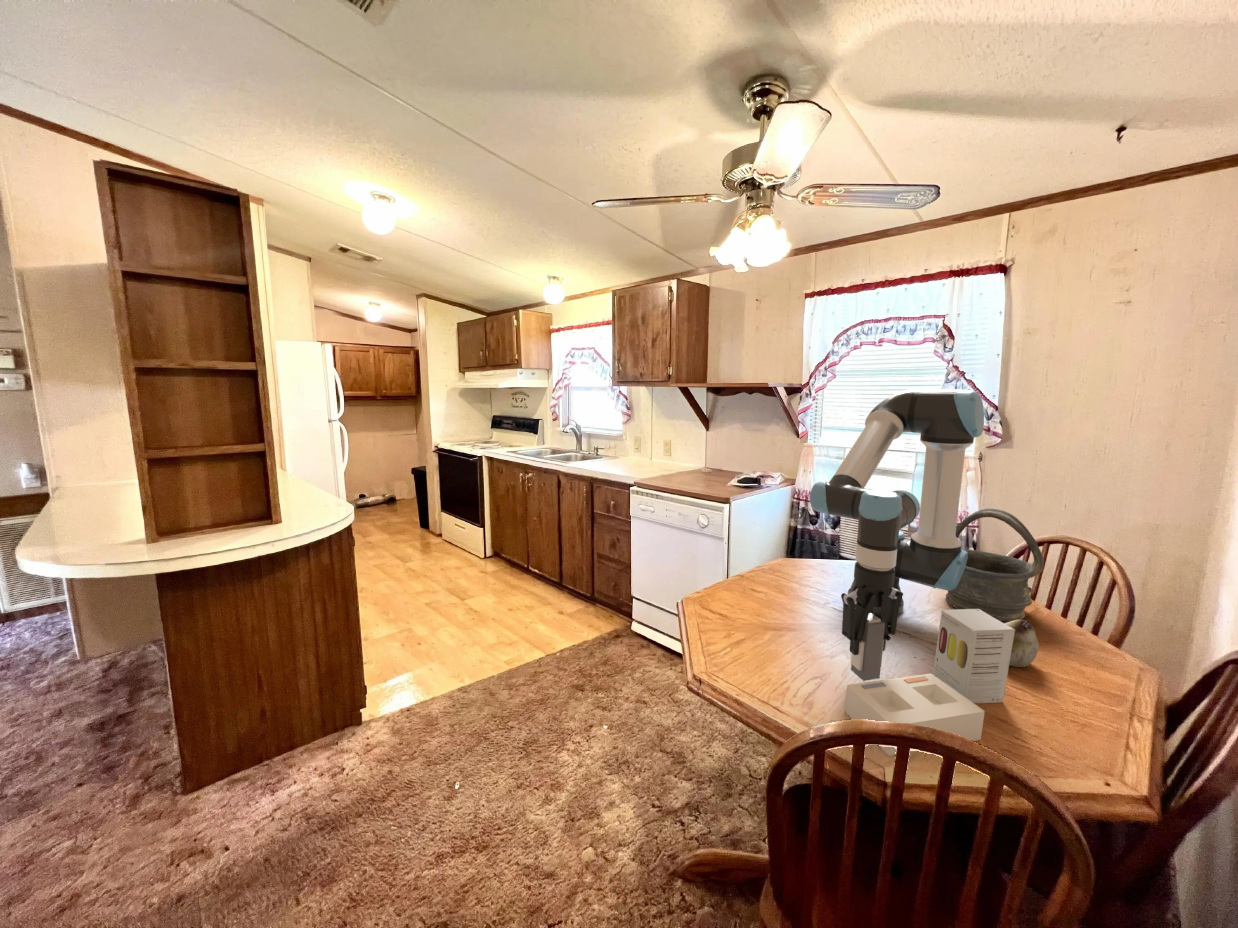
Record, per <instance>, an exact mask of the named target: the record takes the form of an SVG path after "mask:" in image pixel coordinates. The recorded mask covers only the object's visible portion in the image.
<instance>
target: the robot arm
mask: <svg viewBox="0 0 1238 928" xmlns="http://www.w3.org/2000/svg"><path fill="white" fill-rule="evenodd" d="M984 410H985V409H984V403H983V399H982V396H981V395H980V394H979V392H977V391H974V390H967V389H913V388H912V389H906V390H902V391H900V392H897V393H895V394H892V395H890V396H888V397H887V398H885V399H884V400H882V401H881V402H879V403H878V404H877V405H876V406H875V407H873V409H872V410H871V411H870V412H869V413H868V415H867V416H866V418H865V420H864V428H863V430H862V432H861V433H860V434H859V436H858V437H857V439H856V441H855V442H854V443H853V446H852V447H851V448H850V450H849V451H848V453H847V454H846V456H845V458H844V459H843V461H842V462H841V464H840V465H839V467H838V468H837V470H836V472H835V473H834V475H833V476H832V477H831V479H830V480H829V482H827V481H817V482H815V483H814V484H813V486H812V487H811V490H810V492H809V493H810V494H809V503H810V507H811V509H812V510H813V511H815V512H818V513H821V514H825V515H829V516H835V517H841V518H845V519H852V520H856V521H858V523H857V534H856V535H857V537H856V538H857V539H856V545H855V548H856V549H855V561H856V562H855V563H854V570H853V581H852V583H851V585H850V588H848V591H847V593H845V592H843V593H841V596H840V597H841V601H842V603H843V604H842V621H841V622H842V624H841V635H843V636H844V637H845V638H846V639H848V640H849V652H850V653H851V656H850V665H851V664H852V665H853V666H854V667H856V668H857V669H858V670H859V671H860V670H862V666H863V654H864V643H865V642H863V641H862V636H863V633H864V629H865V626H866V622H867V618H868V615H869V613H872V614H874V615H875V616H876V617H878V618H879V619H881V621H883V622H884V623H885V628H884V639H883V649H882V655H883V654H884V653H883V652H884V651H885V650H886V643H887V641H890V640H891V639H892V637H891V635H892V636H894V635H896V634H897V633H896V631H897V624H898V618H899V615H900V614H901V613H903V612H904V607H905V606H904V605H905V602H904V599H903V596H904V593H903V591H901V587H900V579H901V580H905V581H909V582H913V583H917V584H920V585H923V586H926V587H927V586H928V587H930V588H932V589H938V590H939V589H940V590H944V591H947V592H948V591H950V590H953V589H955V588H956V587H957V585H958V583H959V581H960V579H961V577H962V575H963V572H964V569H965V566H966V563H967V559H968V553H967V552H966V551H964V550H965V549H962V541H961V540H960V539H959V537H958V538H957V537H956V536H955V534H956V526H957V525H958V524H957V522H958V515H959V508H960V497H961V491H962V490H961V489H962V482H963V480H962V479H963V472H964V463H965V455H966V449H968V448H969V447H970V446H971V445H973V444H974V440H975V438H980V437H981V435H983V431H984V424H985V411H984ZM903 433H914V434H915V433H916V434H920V439H919V440H920V442H921V443H922V444H923V445H924V446H925V456H924V463H923V464H924V466H923V475H922V476H923V477H922V485H921V486H922V487H921V497H920V502H919V500H918V498H917V497H916V496H915V494H913V493H911V492H909V491H907V490H900V489H899V490H892V491H890V490H885V489H884V490H882V489H871V488H866V486H867V484H868V483H869V481H870V480H871V478H872V476H873V474H874V472H875V471H876V469H877V468H878V466H879V464H880V463H881V461H882V459H883V458H884V456H885V454H886V453H887V451H888V449H889V448H890V446H891V445H892V443H893V441H894V440H897V439H898V438H901V435H902V434H903ZM918 516H919V518H918V530H917V531H915V532H913V533H912V534H911V535H910V538H906V535H905V532H903V531H902V530H901V529H903V528H904V527H906V526H908V525H911V523H913V522H914V521H915V519H917V517H918ZM882 661H883V658H882V659H881V665H882V664H883V662H882Z"/></svg>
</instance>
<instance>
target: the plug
mask: <svg viewBox="0 0 1238 928" xmlns="http://www.w3.org/2000/svg"><path fill="white" fill-rule="evenodd" d="M884 628H885V623H884V622H883V621H881V619H879V618H878V617H876V616H875V615H874V614H873V613H869V615H868V618H867V622H866V626H865V629H864V633H863V636H862V641H863V642H865V643H864V654H863V666H862V670H860V671H859V670H858V669H857V668H856V667H854V666H853V665H852V664H851V663H850V665H851V666H850V671H851V672H852V673H854V674H855V675H856V676H857V677H858V678H859V679H861V680H862V682H865V681H866V682H867V681H871V680H877V679H879V680H880V679H881V678H880V677H881V668H882V664H881V659H882V660H883V654H882V649H883V639H884Z"/></svg>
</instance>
